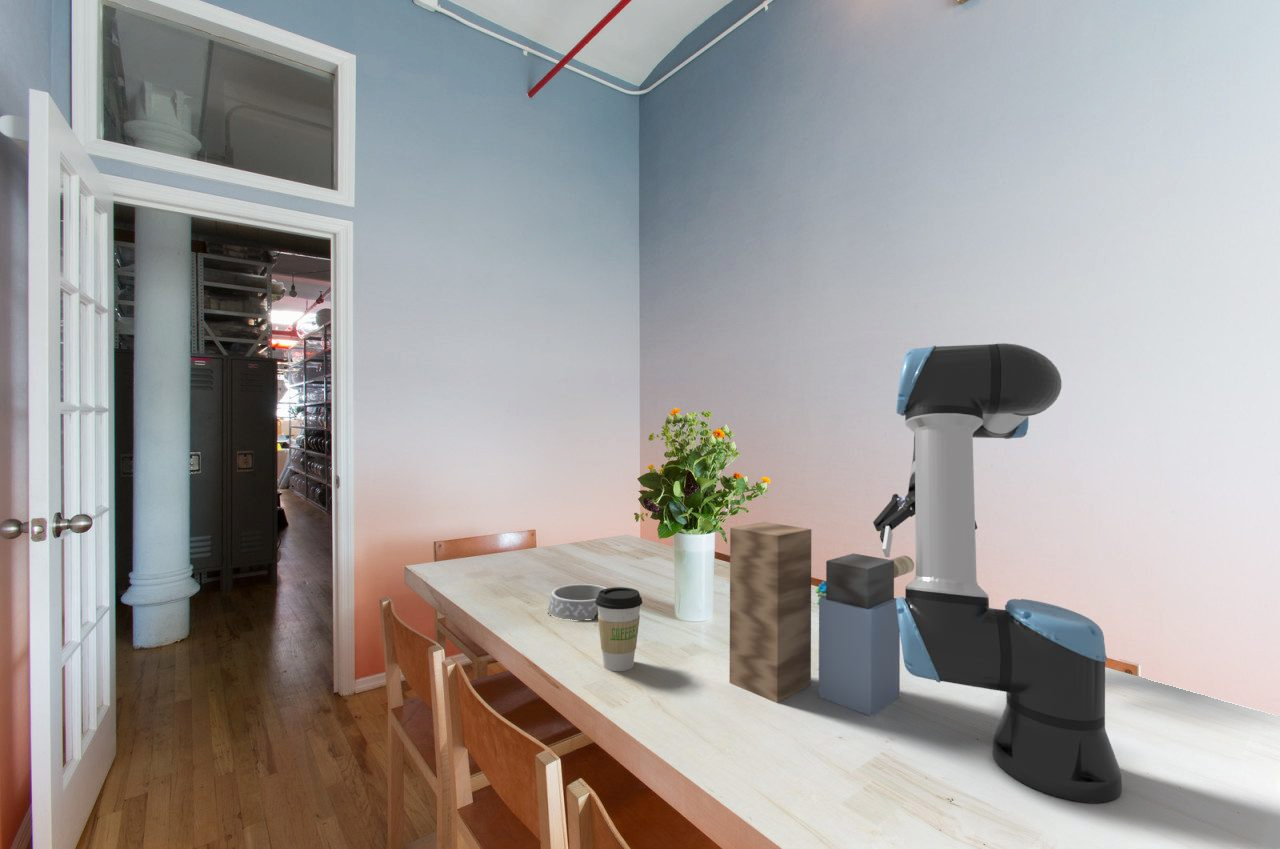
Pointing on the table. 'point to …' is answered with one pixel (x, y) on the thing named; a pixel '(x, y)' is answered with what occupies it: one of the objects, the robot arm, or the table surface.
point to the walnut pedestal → (770, 609)
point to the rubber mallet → (864, 579)
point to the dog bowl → (575, 601)
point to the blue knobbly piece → (821, 590)
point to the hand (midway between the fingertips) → (919, 553)
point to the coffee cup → (618, 626)
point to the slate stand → (859, 655)
